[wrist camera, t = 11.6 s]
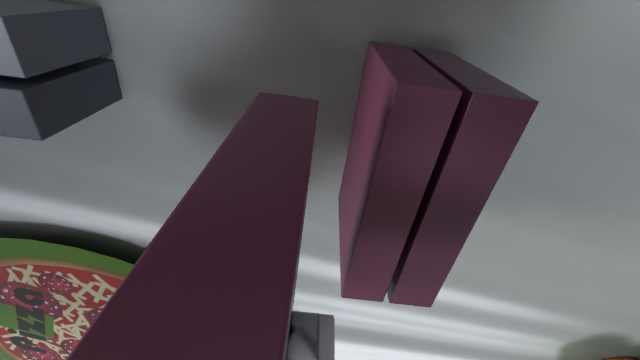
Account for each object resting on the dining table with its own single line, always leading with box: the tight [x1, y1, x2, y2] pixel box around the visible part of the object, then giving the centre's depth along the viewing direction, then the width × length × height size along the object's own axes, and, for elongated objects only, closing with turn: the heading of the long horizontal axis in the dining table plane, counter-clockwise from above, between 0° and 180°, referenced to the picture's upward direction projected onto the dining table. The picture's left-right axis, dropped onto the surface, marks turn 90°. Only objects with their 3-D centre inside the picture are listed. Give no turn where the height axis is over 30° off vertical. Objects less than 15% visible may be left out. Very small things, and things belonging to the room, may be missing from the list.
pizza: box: [0, 238, 134, 360], centre depth 41 cm, size 35×35×2 cm
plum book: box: [66, 92, 319, 360], centre depth 10 cm, size 2×12×14 cm, turn 173°
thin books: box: [339, 41, 539, 307], centre depth 21 cm, size 14×6×11 cm, turn 173°
